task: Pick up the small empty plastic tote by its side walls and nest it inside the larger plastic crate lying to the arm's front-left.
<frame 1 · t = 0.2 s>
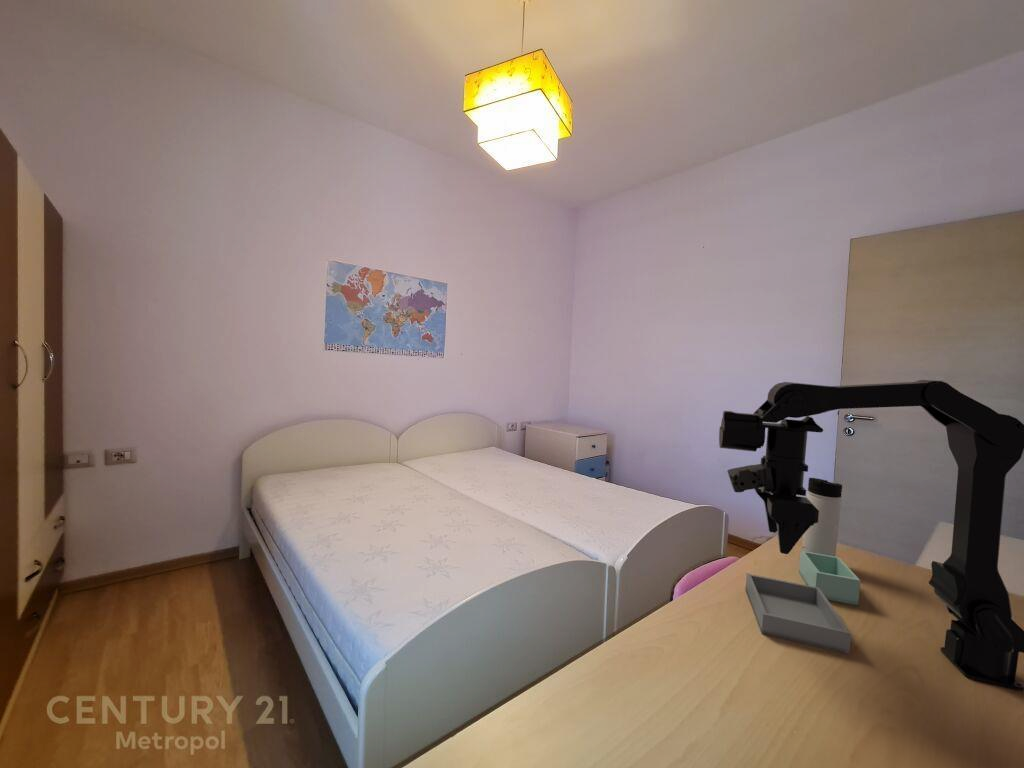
hand: (777, 542, 72), 14 cm above the table, tool pointing down, fingers open, 9 cm apart
travel mug: (816, 564, 95), on the table
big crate: (791, 618, 74), on the table
small tote: (826, 587, 85), on the table
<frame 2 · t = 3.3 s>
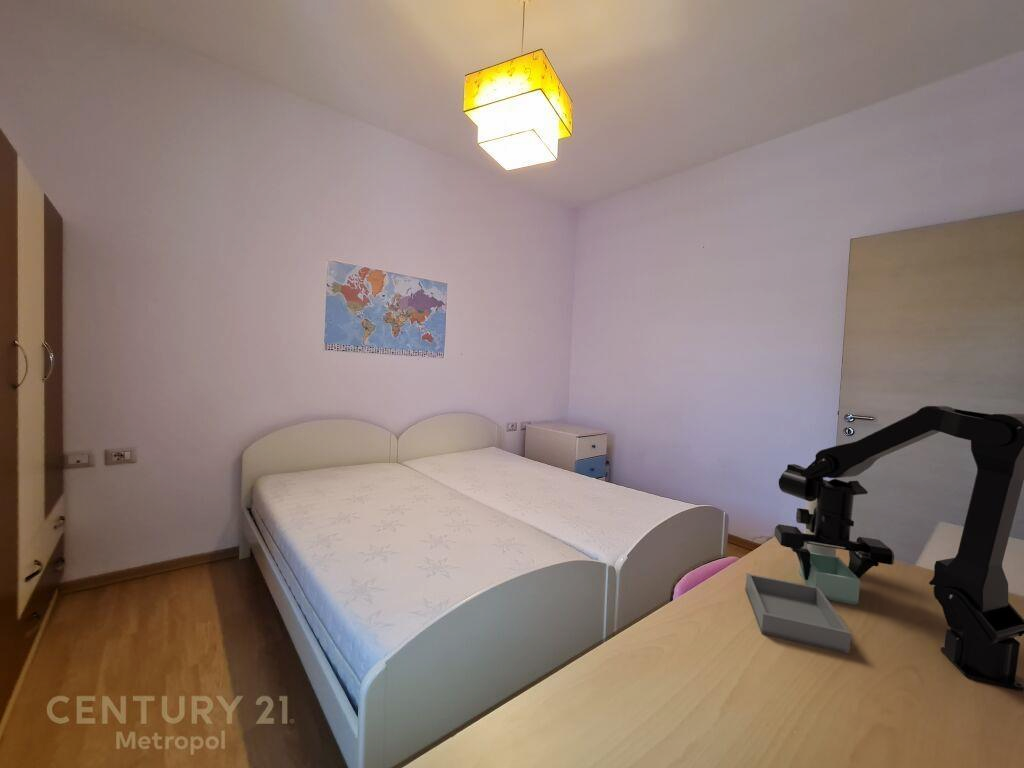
hand: (826, 583, 84), 1 cm above the table, tool pointing down, fingers closed on small tote, 7 cm apart
small tote: (826, 587, 85), on the table, touching gripper
everything else where it was.
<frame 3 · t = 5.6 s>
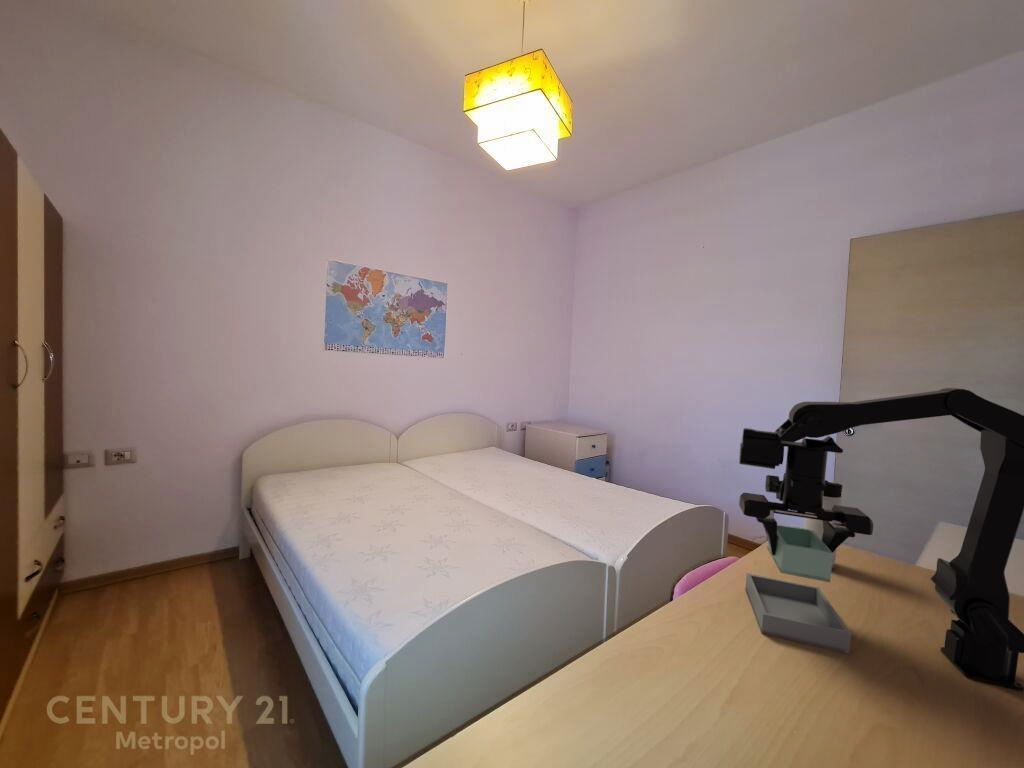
hand: (796, 558, 73), 11 cm above the table, tool pointing down, fingers closed on small tote, 7 cm apart
small tote: (796, 563, 73), point 10 cm above the table, touching gripper
everything else where it was.
when the fingers open (3 cm above the table, at t = 7.9 s): small tote drops 2 cm, resting on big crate.
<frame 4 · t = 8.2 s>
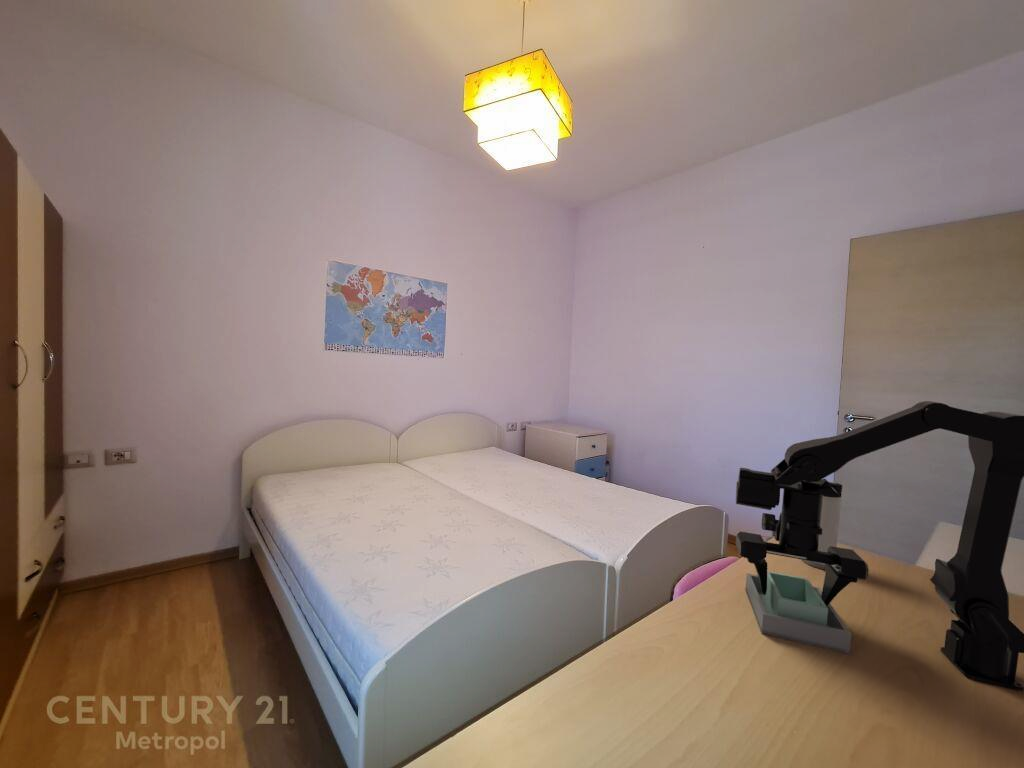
hand: (793, 599, 74), 3 cm above the table, tool pointing down, fingers open, 9 cm apart
small tote: (791, 614, 74), point 1 cm above the table, touching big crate
everything else where it was.
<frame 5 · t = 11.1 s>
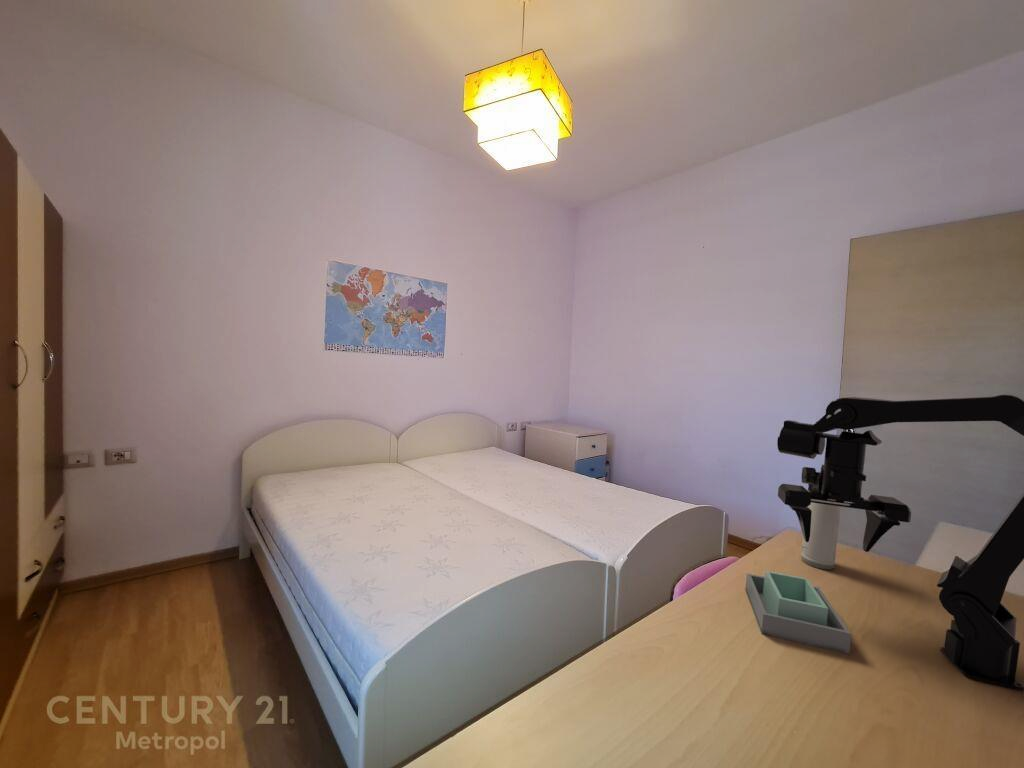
hand: (835, 546, 77), 12 cm above the table, tool pointing down, fingers open, 9 cm apart
nothing on the table moved.
at the end: small tote 0.1 cm off-centre on the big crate, point 0.6 cm above the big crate's base; small tote tilted 0°; the gripper is holding nothing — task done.
